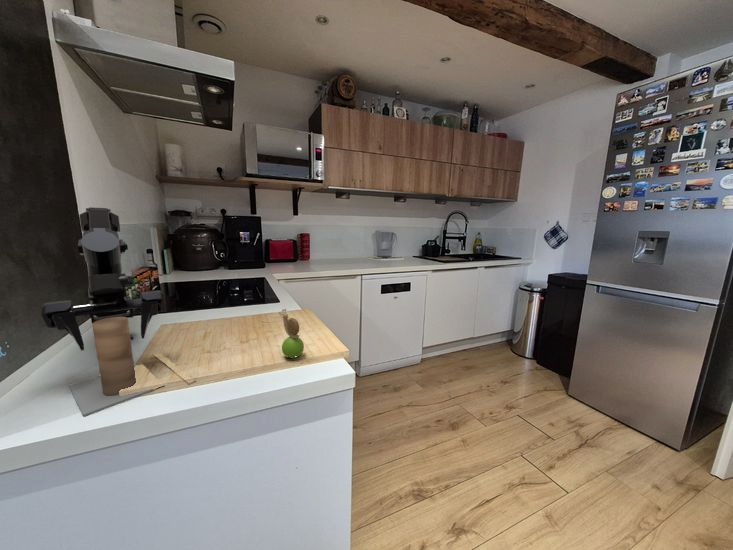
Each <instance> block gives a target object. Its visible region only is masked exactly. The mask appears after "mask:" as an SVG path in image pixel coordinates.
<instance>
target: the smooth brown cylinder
mask: <svg viewBox="0 0 733 550" xmlns="http://www.w3.org/2000/svg"><path fill="white" fill-rule="evenodd" d="M91 324H92V323H91ZM92 329H93V338H94V342H95V343H94V344H95V349H96V356H97V357H96V358H97V362H98V363H97V364H98V369H99V370H98V371H99V376H100V377H101V383H102V390H103V394H104V395H106V396H114V395H119V391H120V390H121V389H125V388H128V387H131V386H133V385H134V384H135V383H136V378H135V370H134V365H135V363H134V362H135V361H134V358H133V357H134V356H133V355H134V354H133V348H132V339H130V334H131V332H130V325H129V318H127V317H112V318H106V319H101V320H98V321H95V322H94V323H93V324H92Z"/></svg>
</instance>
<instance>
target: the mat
mask: <svg viewBox="0 0 733 550" xmlns="http://www.w3.org/2000/svg"><path fill="white" fill-rule="evenodd" d="M135 365H136V364H134V367H135ZM68 389H69V391H70V392H71V395H72V397H73V399H74V401H75V402H76V404H77V406H78V409H79V411H80V412H81V415H82V417H83V418H84V417H88V416H91V415H93V414H95V413H98V412H101V411H103V410H106V409H108V408H111V407H114V406H116V405H118V404H122V403H125V402H127V401H129V400H133V399H135V398H138V397H140V396H144V395H145V394H148V393H151V392H154V391H155V390H153V389H150V390H144V391H140V392H135V393H132V394H128V395H124V396H120V395H114V396H106V395H104V394H103V390H102V383H101V377H100V375H98V376H94V377H91V378H88V379H85V380H81V381H78V382H75V383H72V384H69V385H68Z"/></svg>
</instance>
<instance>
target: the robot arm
mask: <svg viewBox="0 0 733 550" xmlns="http://www.w3.org/2000/svg"><path fill="white" fill-rule="evenodd" d="M79 224H80V229H81V232H82V238H80V239H78V242H77V243H78V244H77V250H78V253H79V255H81V256H84V260H85V263H86V264H87V276H88V287H87V290H88V291H87V293H88V304H83V305H75V306H74V304H73V302H72V299H69V300H67V299H66V300H60V301H59V300H58V301H50V302H45V303H44V304H43V305H42V306H41V316H42V318H43V320H44V323H45V325H46V326H47V328H50V329H51V328H52V329H55V328H56V329H57V330H58V331H65V332H67V333H68V334H69V335H70V336H71V338H72V339H73V340H74V342H75V343H76V344H77V346H78V348H79V350H80V351H85V344H84V340H83V337H82V336H83V335H82V333H81V330H80V326H79V324H78V323H79V322H78V320H77V317H78V316H79V317H80V316H86V315H87V316H88V315H89V316H90V321H91V324H93V323H94V322H95V321H98V320H101V319H106V318H112V317H127V318H128V319H130V318H131V319H132V318H134V317H135V316H136V314H137V313H136V309H139V308H141V310H140V312H141V313H140V336H141V339H145V336H146V333H147V330H148V329H147V328H148V325H149V324H150V322H151V320H152V317H153V316H157V315H158V313H161V312H163V311H164V308H165V295H164V293H163V292H162V291H161V290H151V291H142V292H140V298H135V299H133V298H132V297H131V296H128V293H127V288H130V287H134V284H135V281H134V276H133V275H134V274H133V270H131V269H130V270H123V268H122V255H121V254H125V253H126V251H128V250H129V249H128V247H129V246H128V244H127V243H125V241H124V239H122V238H121V239H120V237H119V233H121V224H120V218H119V215H117V214H115V213H113V212H112V211H111V209H110V208H107V207H92V206H91V207H86V208H85V211H84V212H82V213H80V214H79ZM130 339H131V340H133V339H134V336H133V335H132V334H131V333H130Z"/></svg>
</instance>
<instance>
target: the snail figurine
mask: <svg viewBox="0 0 733 550" xmlns="http://www.w3.org/2000/svg"><path fill="white" fill-rule="evenodd" d="M281 311H282V312H284V313H282V318H283V326H284V331H285V332H286V334H287V335H288V337H286V338H285V339H284V340H283V342H282V344H281V351H282V353H283V355H284V356H285V357H286V356H288V357H295V356H298V357H299V356H300V354H301V355H302V353H303V352H304V349H305V346H304V345H305V344H304V341H303V340H302V338H300V335H299V333H300V323H299V322H298V320H297V319H296V318H294V317H290V318H289V314H287V312H286V311H287V308H284V309H283V308H282V310H281ZM288 357H287V358H288Z"/></svg>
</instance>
